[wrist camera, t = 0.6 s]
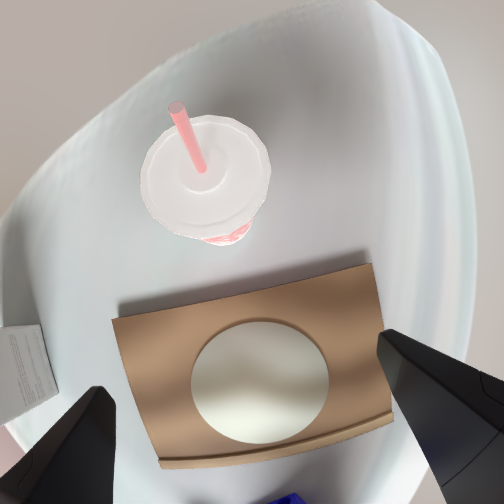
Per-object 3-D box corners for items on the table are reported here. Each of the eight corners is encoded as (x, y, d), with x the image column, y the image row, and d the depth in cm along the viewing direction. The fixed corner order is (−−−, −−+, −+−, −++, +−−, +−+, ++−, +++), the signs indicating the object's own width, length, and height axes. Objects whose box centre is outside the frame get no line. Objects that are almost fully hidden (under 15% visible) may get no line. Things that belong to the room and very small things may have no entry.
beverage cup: (242, 269, 21) (225, 246, 7) (169, 236, 21) (54, 169, 7) (275, 195, 21) (311, 69, 7) (204, 166, 21) (151, 33, 7)
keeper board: (386, 416, 19) (393, 423, 18) (166, 461, 19) (162, 470, 17) (365, 263, 21) (373, 262, 19) (118, 317, 20) (109, 319, 19)
